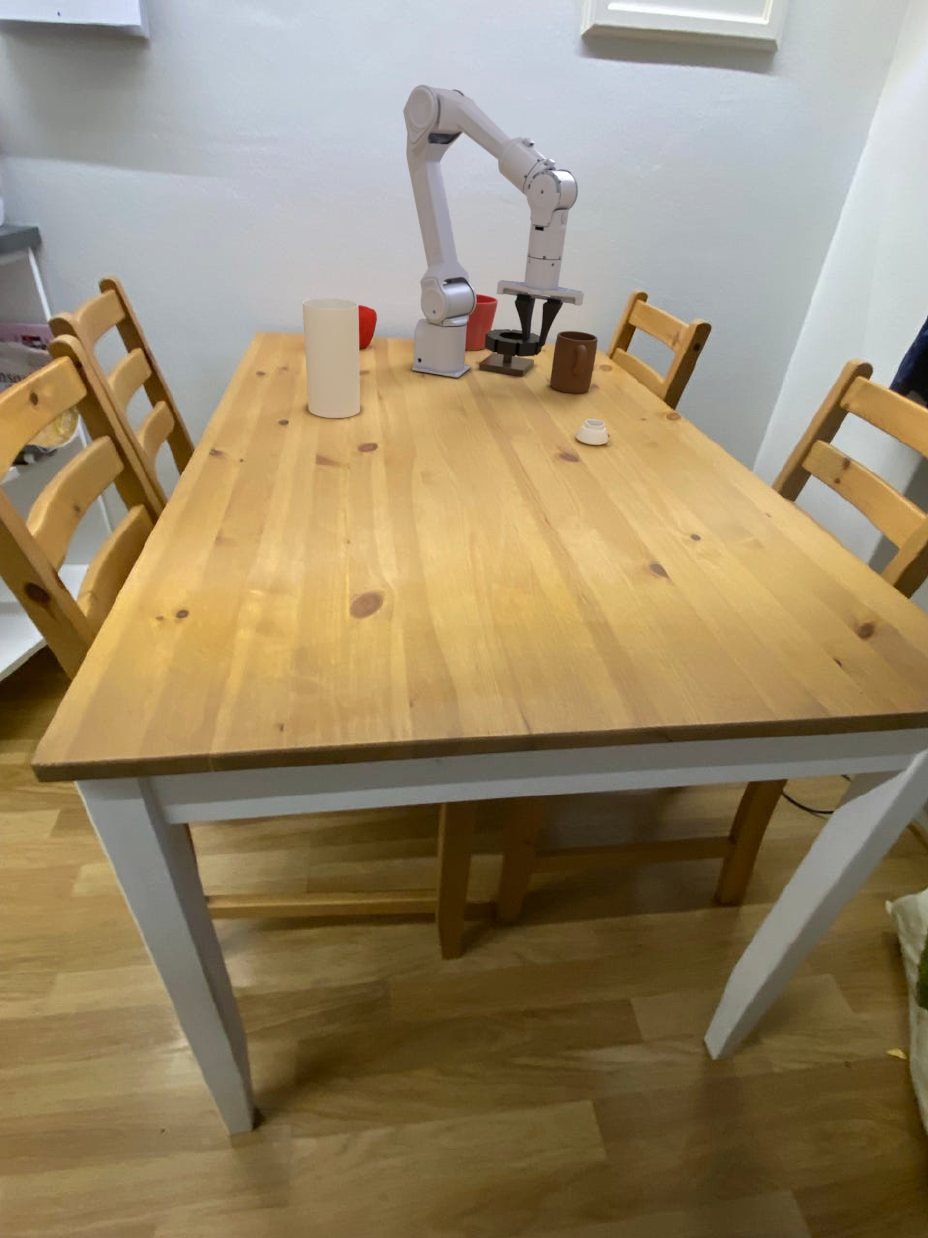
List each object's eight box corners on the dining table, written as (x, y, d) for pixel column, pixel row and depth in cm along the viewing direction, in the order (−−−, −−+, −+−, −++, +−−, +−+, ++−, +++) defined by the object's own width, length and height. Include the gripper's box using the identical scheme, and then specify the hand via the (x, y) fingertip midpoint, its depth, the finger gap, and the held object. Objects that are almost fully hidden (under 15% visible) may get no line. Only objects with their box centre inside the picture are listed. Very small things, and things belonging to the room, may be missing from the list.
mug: (596, 403, 125) (606, 348, 120) (554, 400, 125) (562, 345, 120) (586, 383, 135) (594, 332, 130) (547, 380, 135) (554, 329, 129)
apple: (326, 348, 142) (324, 307, 138) (344, 339, 149) (343, 299, 145) (366, 354, 141) (366, 313, 136) (383, 345, 148) (383, 305, 143)
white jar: (583, 447, 107) (613, 446, 108) (587, 428, 105) (616, 427, 106) (570, 435, 111) (599, 434, 112) (573, 417, 109) (602, 416, 110)
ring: (478, 350, 120) (480, 337, 119) (494, 338, 128) (495, 326, 127) (532, 359, 118) (534, 346, 117) (545, 347, 126) (547, 334, 125)
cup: (368, 406, 115) (367, 302, 106) (345, 421, 109) (342, 311, 99) (324, 398, 117) (319, 294, 108) (298, 412, 110) (291, 303, 101)
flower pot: (447, 337, 157) (450, 290, 152) (495, 342, 156) (500, 295, 151) (440, 348, 149) (442, 299, 143) (490, 354, 148) (495, 305, 142)
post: (478, 369, 138) (481, 336, 134) (491, 358, 145) (494, 327, 141) (522, 376, 136) (526, 343, 132) (533, 365, 143) (537, 333, 139)
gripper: (495, 254, 112) (487, 342, 120) (583, 265, 109) (569, 355, 117) (507, 249, 118) (498, 333, 126) (591, 260, 114) (577, 346, 122)
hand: (533, 343), depth 122 cm, fingers closed on ring, 2 cm apart
